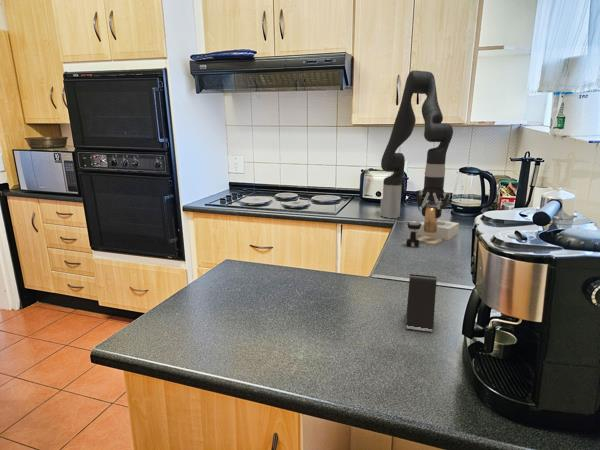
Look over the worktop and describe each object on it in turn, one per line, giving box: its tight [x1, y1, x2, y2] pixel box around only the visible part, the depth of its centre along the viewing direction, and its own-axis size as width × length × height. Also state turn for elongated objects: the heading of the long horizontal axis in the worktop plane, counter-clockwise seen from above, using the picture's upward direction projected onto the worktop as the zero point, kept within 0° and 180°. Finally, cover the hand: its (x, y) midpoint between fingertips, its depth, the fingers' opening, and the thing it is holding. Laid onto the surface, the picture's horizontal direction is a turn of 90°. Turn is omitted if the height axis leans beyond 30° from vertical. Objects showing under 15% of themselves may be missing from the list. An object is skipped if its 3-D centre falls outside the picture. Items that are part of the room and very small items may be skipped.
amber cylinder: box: [423, 205, 438, 233], centre depth 159 cm, size 5×5×10 cm
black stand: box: [401, 220, 421, 248], centre depth 153 cm, size 7×5×10 cm
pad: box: [418, 236, 443, 246], centre depth 161 cm, size 8×8×1 cm
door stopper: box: [405, 273, 437, 330], centre depth 92 cm, size 9×6×12 cm, turn 164°
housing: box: [418, 219, 460, 241], centre depth 171 cm, size 13×13×5 cm
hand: (431, 216), depth 158 cm, fingers closed on amber cylinder, 5 cm apart
